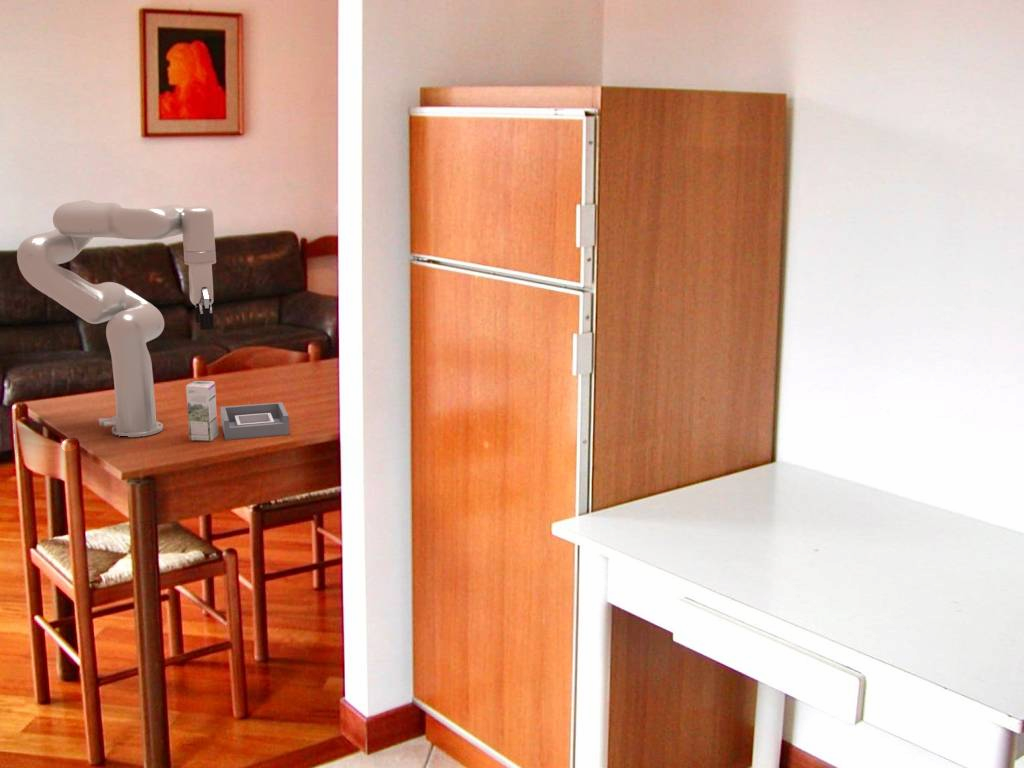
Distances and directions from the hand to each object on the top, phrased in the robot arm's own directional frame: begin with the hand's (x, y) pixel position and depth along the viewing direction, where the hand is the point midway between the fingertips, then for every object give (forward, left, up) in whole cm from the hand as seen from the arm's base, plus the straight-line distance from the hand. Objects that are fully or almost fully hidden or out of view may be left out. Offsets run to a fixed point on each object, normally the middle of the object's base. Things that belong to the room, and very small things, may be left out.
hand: (204, 325), depth 294 cm
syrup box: (-2, -3, -29) cm, 29 cm away
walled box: (+11, +1, -28) cm, 30 cm away
